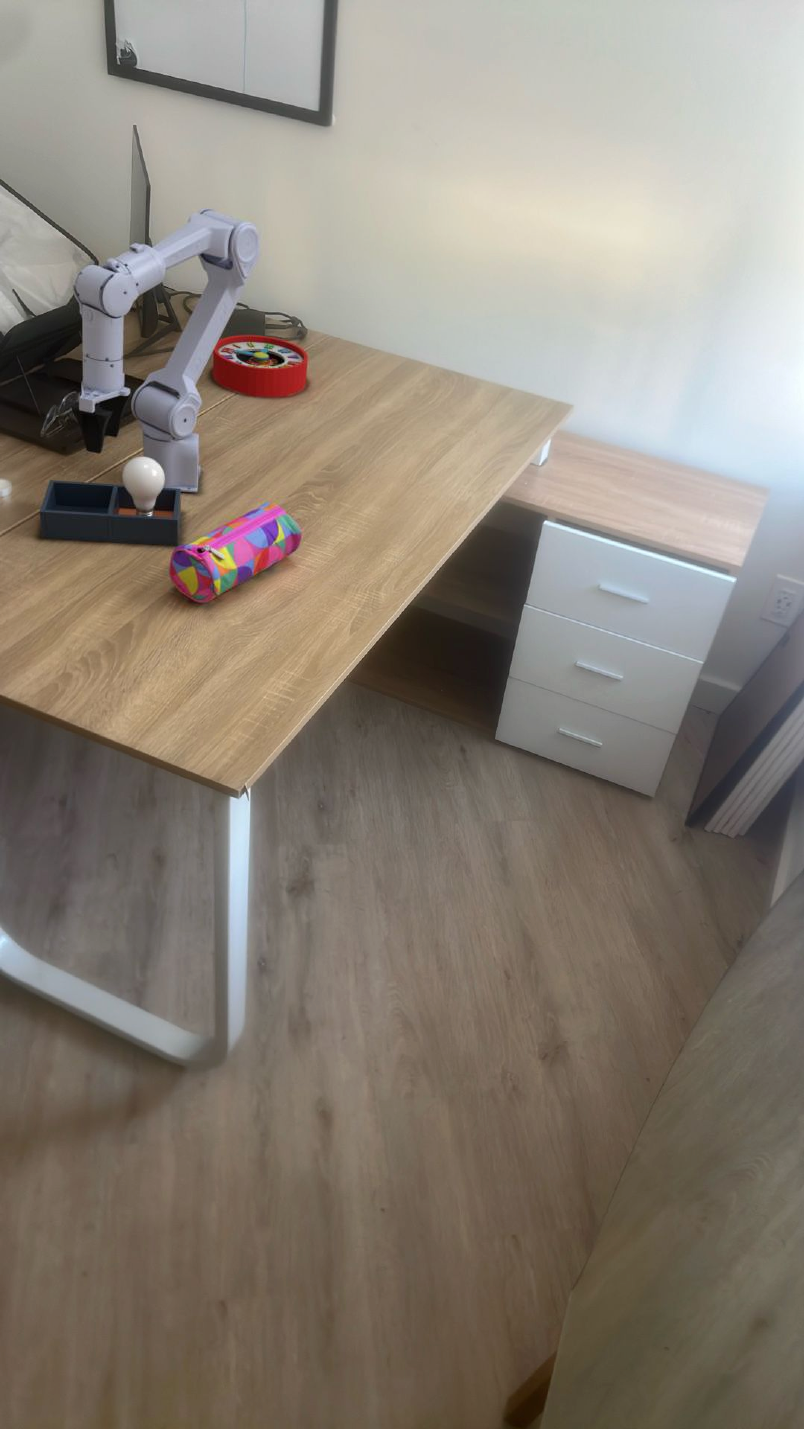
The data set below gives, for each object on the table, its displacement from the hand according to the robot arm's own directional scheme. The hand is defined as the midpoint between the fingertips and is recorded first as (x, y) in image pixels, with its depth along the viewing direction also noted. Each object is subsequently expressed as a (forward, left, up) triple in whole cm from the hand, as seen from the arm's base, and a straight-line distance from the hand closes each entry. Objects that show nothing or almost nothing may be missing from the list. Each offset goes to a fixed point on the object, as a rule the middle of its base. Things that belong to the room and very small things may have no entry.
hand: (102, 443), depth 148 cm
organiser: (-2, +7, -11) cm, 13 cm away
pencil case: (-21, +20, -11) cm, 31 cm away
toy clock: (-26, -61, -11) cm, 67 cm away
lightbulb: (-7, +7, -10) cm, 14 cm away
